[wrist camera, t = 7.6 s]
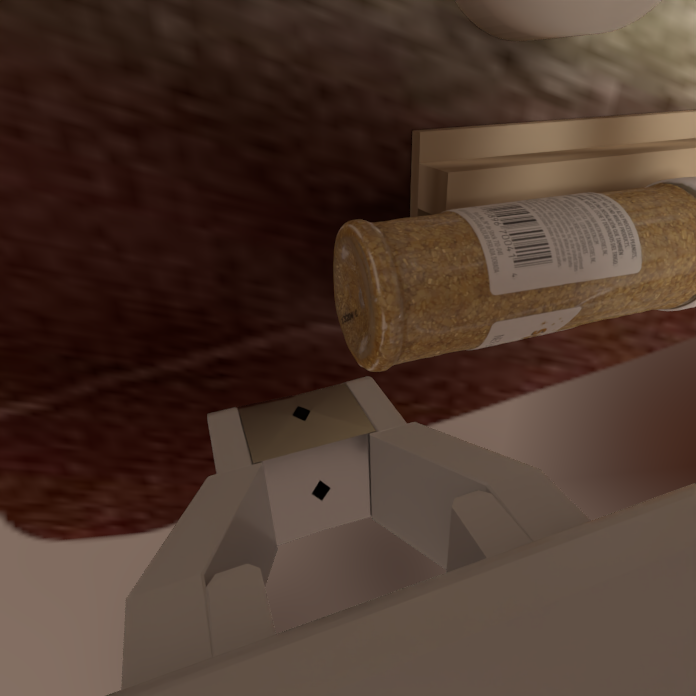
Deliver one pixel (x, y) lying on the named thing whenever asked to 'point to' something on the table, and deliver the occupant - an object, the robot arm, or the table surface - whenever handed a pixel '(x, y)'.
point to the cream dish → (552, 16)
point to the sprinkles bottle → (512, 270)
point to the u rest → (548, 159)
